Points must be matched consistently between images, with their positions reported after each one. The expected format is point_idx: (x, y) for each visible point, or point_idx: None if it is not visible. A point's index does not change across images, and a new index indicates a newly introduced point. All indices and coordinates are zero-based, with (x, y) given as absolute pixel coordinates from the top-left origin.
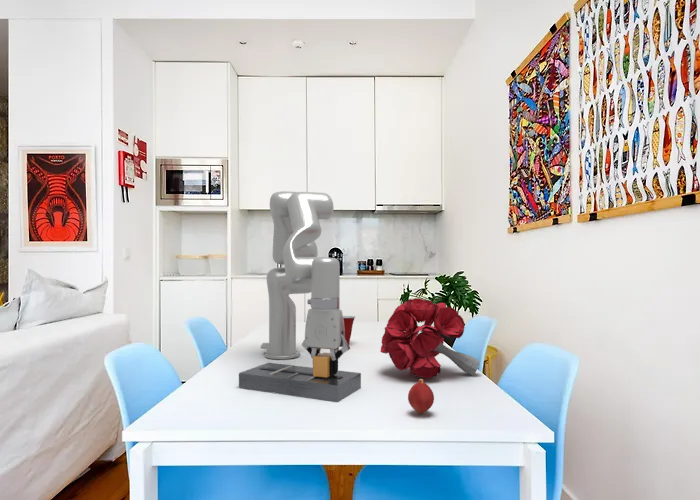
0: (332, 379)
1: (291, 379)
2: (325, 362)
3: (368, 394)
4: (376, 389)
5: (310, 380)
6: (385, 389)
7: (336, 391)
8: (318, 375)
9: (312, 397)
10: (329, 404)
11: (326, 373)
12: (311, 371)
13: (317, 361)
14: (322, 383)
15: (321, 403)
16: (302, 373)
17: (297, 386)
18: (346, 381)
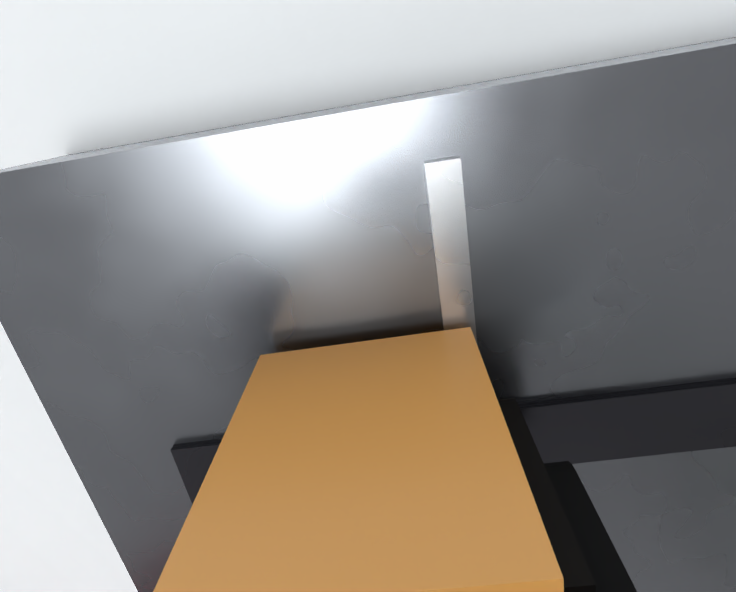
0: (212, 378)
1: (718, 60)
2: (218, 515)
3: (58, 457)
4: (111, 565)
5: (414, 186)
6: (68, 589)
7: (8, 168)
8: (386, 345)
9: (338, 107)
10: (64, 40)
11: (250, 384)
12: (653, 517)
13: (416, 497)
14: (164, 151)
15: (149, 17)
16: (705, 387)
17: (560, 71)
18: (49, 406)
